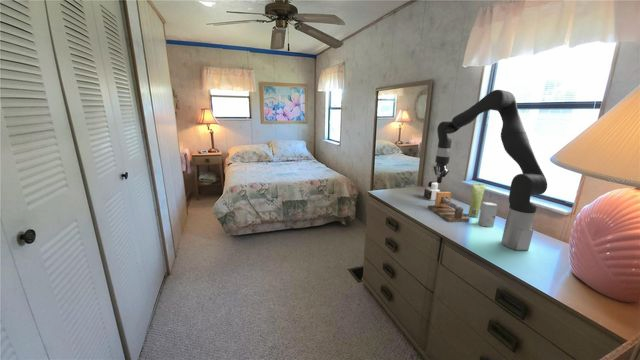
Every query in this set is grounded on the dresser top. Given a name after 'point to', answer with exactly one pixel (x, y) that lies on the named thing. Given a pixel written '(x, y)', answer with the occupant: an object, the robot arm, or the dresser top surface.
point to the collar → (438, 198)
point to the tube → (476, 199)
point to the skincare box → (487, 214)
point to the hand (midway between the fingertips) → (438, 182)
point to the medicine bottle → (431, 191)
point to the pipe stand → (449, 211)
